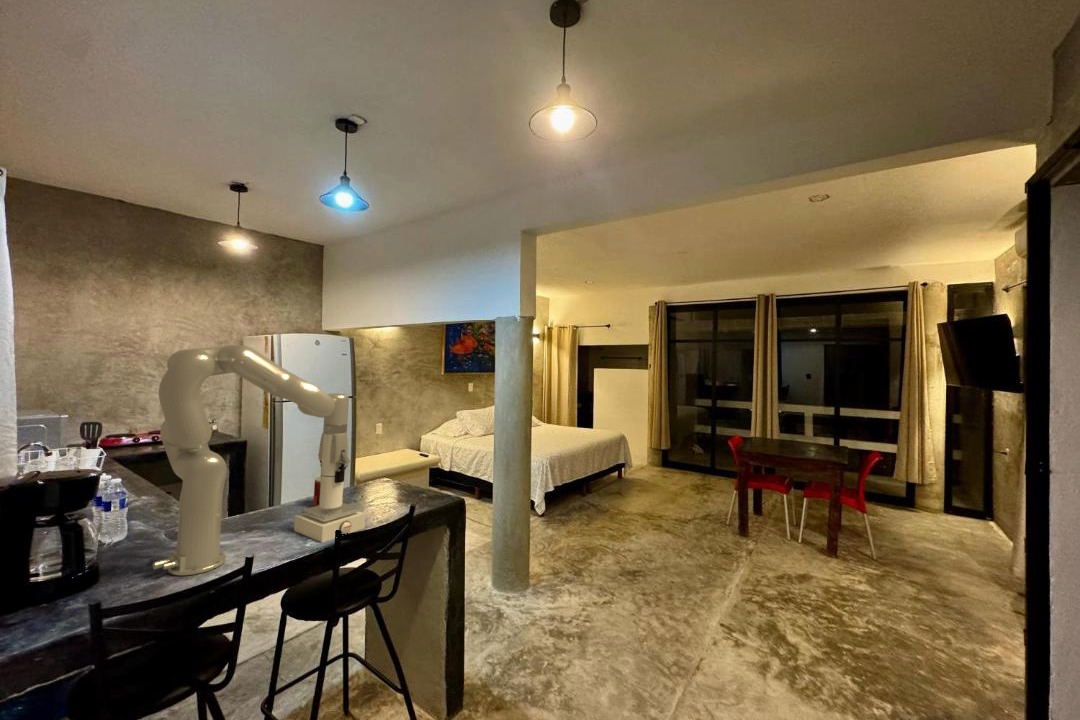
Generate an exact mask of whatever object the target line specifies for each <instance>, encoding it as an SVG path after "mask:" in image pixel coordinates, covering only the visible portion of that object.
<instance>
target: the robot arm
mask: <svg viewBox="0 0 1080 720" xmlns="http://www.w3.org/2000/svg"><path fill="white" fill-rule="evenodd" d="M166 367H167V370H166V371H165V373H164V375H163V376H162V378H161V381H160V383H159V387H158V400H159V403H160V404H159V405H160V407H161V410H162V414H163V417H164V421H163V422H162V424H161V425H160V438H161V442H162V444H163V447H164V450H165V453H166V455H167V459H168V461H169V463H170V466H171V468H172V472H173V473H174V475H176V476H177V477H178V478H180V480H182V486H181V491H180V494H179V495H180V496H179V502H178V503H179V505H178V523H177V525H178V526H177V540H176V551H172V552H171V555H170V556H168V557H167V558H165V559H159V560H157V561H154V562H152V569H153V570H154V571H155V570H158V569H161V568H162V569H163V570H167V572H168V573H169V574H170V575H172V576H191V575H197V574H202V573H205V572H209V571H212V570H215V569H217V568H219V567H220V566H222V565H223V564H224V563H225V562H226V561H227V560H226V559H227V555H226V554H225V553H224V552H220V549H221V547H220V546H221V535H222V534H221V532H222V531H221V530H222V513H223V498H224V497H223V496H224V487H225V483H226V478H227V474H228V473H227V472H228V467H227V463H226V461H225V459H224V458H223V457H222V456H221V455H220V454H219V453H217V452H214V451H212V450H211V449H210V446H209V444H208V443H209V442H210V440H211V438H212V435H213V434H212V432H213V430H212V427H211V424H210V422H209V419H208V416H207V413H206V410H205V408H204V405H203V400H202V396H201V390H202V389H201V388H202V386H203V384H204V382H205V381H206V379H208V378H209V377H210V376H211V377H212V376H220V375H224V374H235V375H237V376H239V377H240V378H242V379H243V380H246V381H247V382H249V383H250V384H252V385H254V386H256V387H258V388H259V389H261V390H263V391H264V392H266V393H267V394H269V395H272V396H275V397H278V398H280V399H284V400H287V401H289V402H292V403H294V404H296V405H297V408H298V410H299V412H301V413H303V414H304V415H306V416H311V417H316V418H322V419H323V426H322V427H323V430H322V433H321V437H320V442H319V448H318V455H317V456H318V460H319V462H320V465H319V466H320V471H321V470H322V454H323V438H324V434H326V435H333V436H332V441H331V451H330V463H331V464H336V469H337V471H335V483H340V482H343V483H344V482H345V473H346V470H347V467H348V465H349V463H350V462H351V461H350V458H349V457H348V452H349V451H348V450H349V449H348V446H349V445H348V435H347V433H348V424H349V423H348V419H349V418H348V417H349V406H350V405H349V403H350V401H349V400H350V397H349V395H348V394H346V393H339V392H338V393H335V392H334V393H327V392H325V391H324V390H322V388H321V389H320V388H319V387H317V386H316V385H314V384H312V383H311V382H308V381H307V380H305V379H303V378H301V377H300V376H298V375H296V374H295V373H293V372H290V371H288V370H286V369H285V368H284V367H282V366H280V365H279V364H277V363H276V362H274V361H272V360H271V359H270V358H268V357H266V356H265V355H264V354H262V353H261V352H259V351H257V350H256V349H254V348H252V347H251V346H250V347H249V346H248V345H237V344H236V345H234V344H233V345H232V344H231V345H223V346H222V345H221V346H216V347H202V348H191V349H190V348H189V349H180V350H178V351H175V352H174V353H172V354H171V355H170V356H169V358H168V359H167V363H166ZM340 457H342V461H340V462H339V460H340ZM341 463H342V464H341ZM339 464H341V466H339ZM214 568H215V569H214Z"/></svg>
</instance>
